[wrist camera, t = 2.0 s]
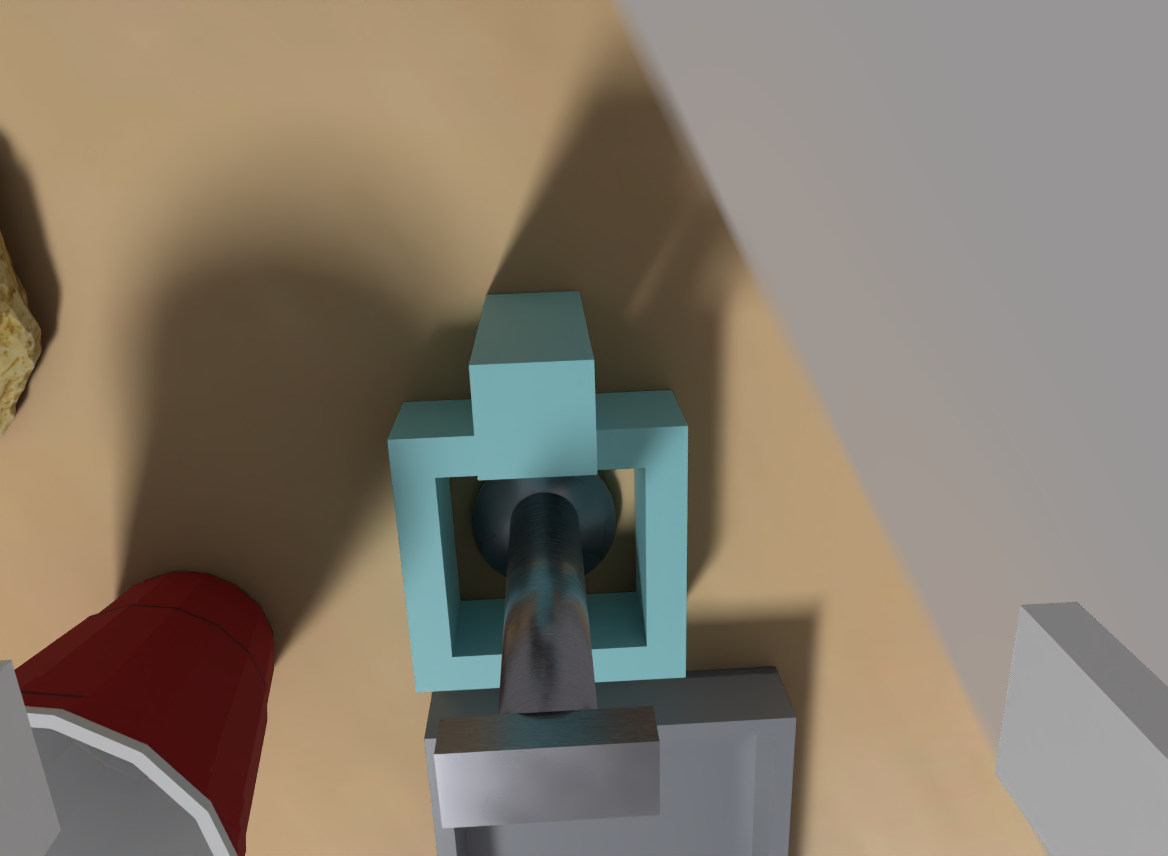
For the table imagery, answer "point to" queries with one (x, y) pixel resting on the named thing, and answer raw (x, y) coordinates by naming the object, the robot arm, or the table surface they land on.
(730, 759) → the tray
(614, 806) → the t stake
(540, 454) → the tabbed collar
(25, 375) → the fossil
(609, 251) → the table surface
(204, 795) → the plastic cup
